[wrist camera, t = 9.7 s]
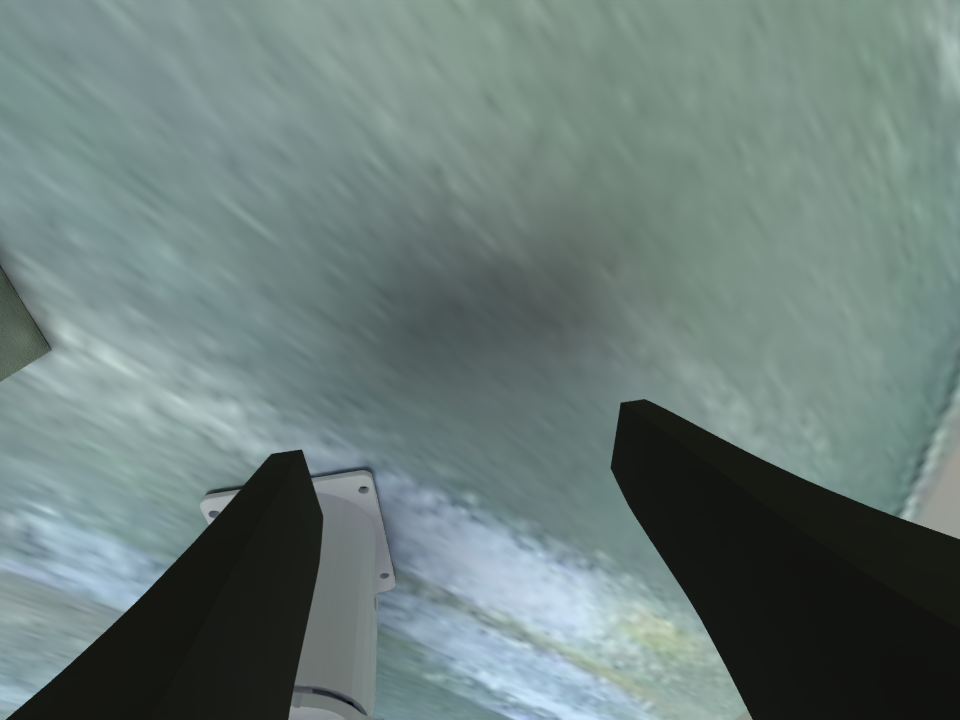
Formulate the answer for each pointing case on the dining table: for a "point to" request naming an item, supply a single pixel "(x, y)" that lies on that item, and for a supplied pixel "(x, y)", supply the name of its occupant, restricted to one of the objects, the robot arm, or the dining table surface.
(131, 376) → the dining table surface
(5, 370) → the silver square open block
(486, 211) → the dining table surface
